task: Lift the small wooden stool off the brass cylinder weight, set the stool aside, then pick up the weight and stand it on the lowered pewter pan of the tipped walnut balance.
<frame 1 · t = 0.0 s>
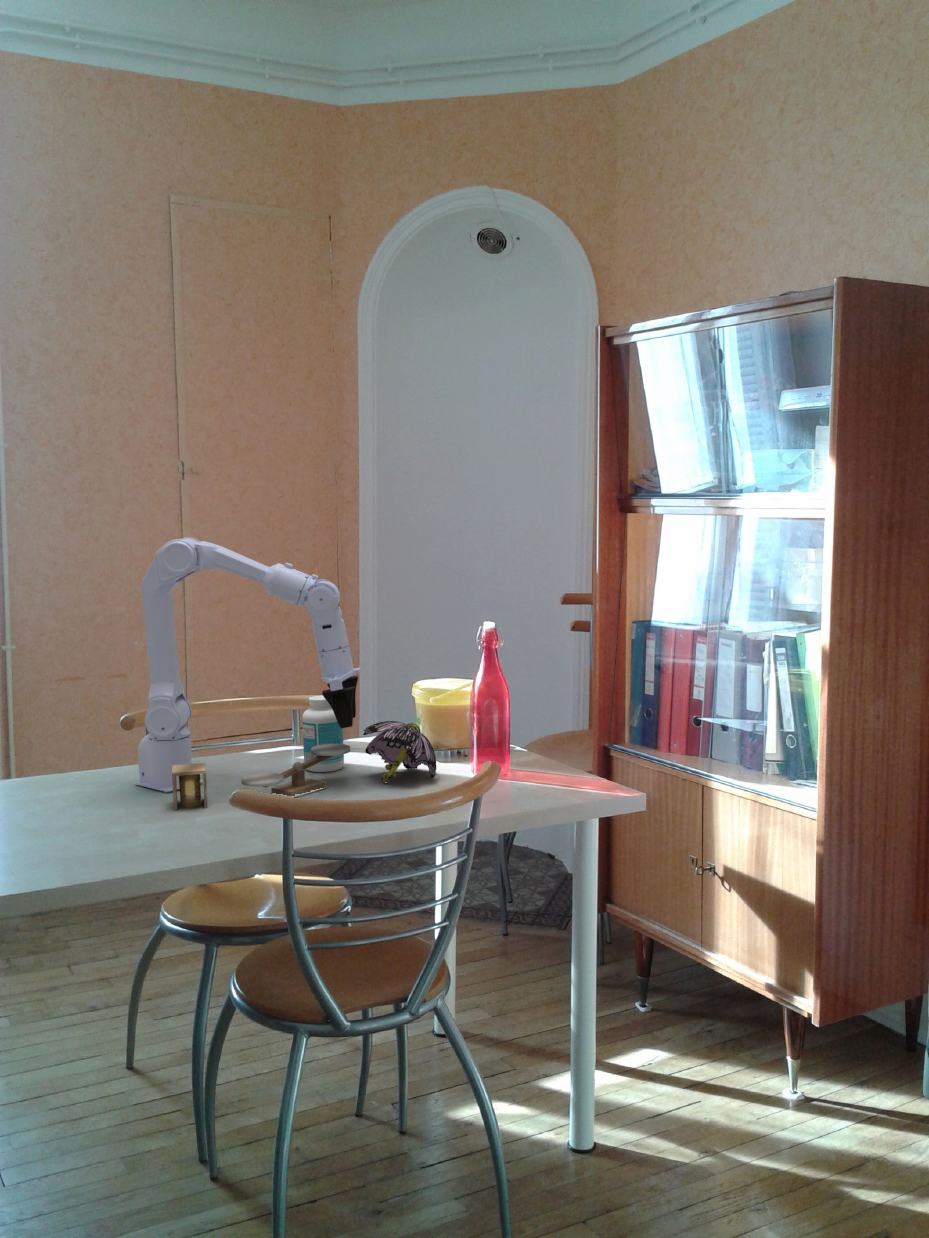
hand: (348, 722, 198), 11 cm above the table, tool pointing down, fingers open, 7 cm apart
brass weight: (190, 804, 186), on the table
small wooden stool: (190, 804, 186), on the table
pill bottle: (324, 769, 209), on the table
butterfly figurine: (402, 779, 201), on the table
balance: (298, 791, 193), on the table
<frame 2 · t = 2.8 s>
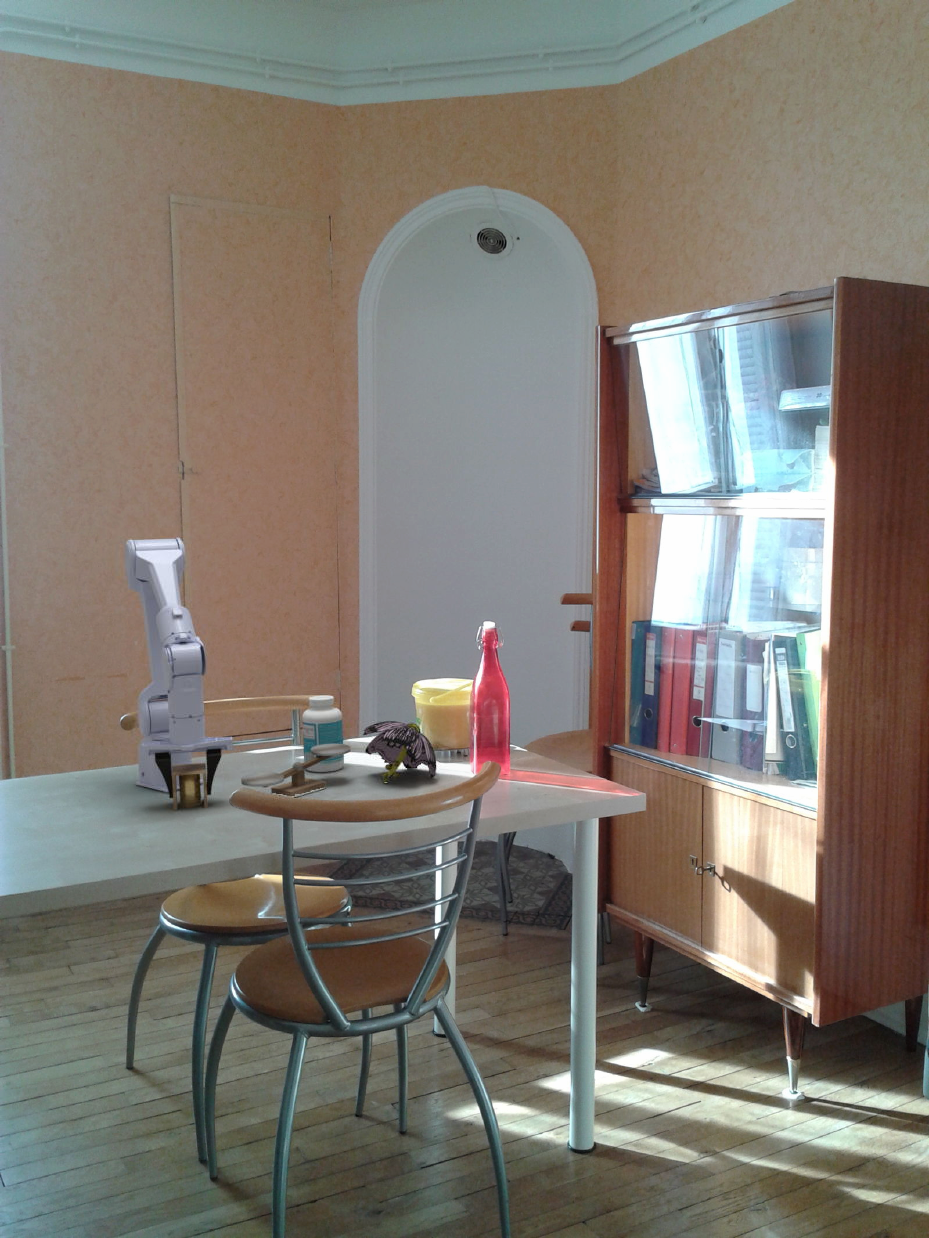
hand: (190, 795, 186), 2 cm above the table, tool pointing down, fingers closed on small wooden stool, 5 cm apart
small wooden stool: (190, 804, 186), on the table, touching gripper
everything else where it was.
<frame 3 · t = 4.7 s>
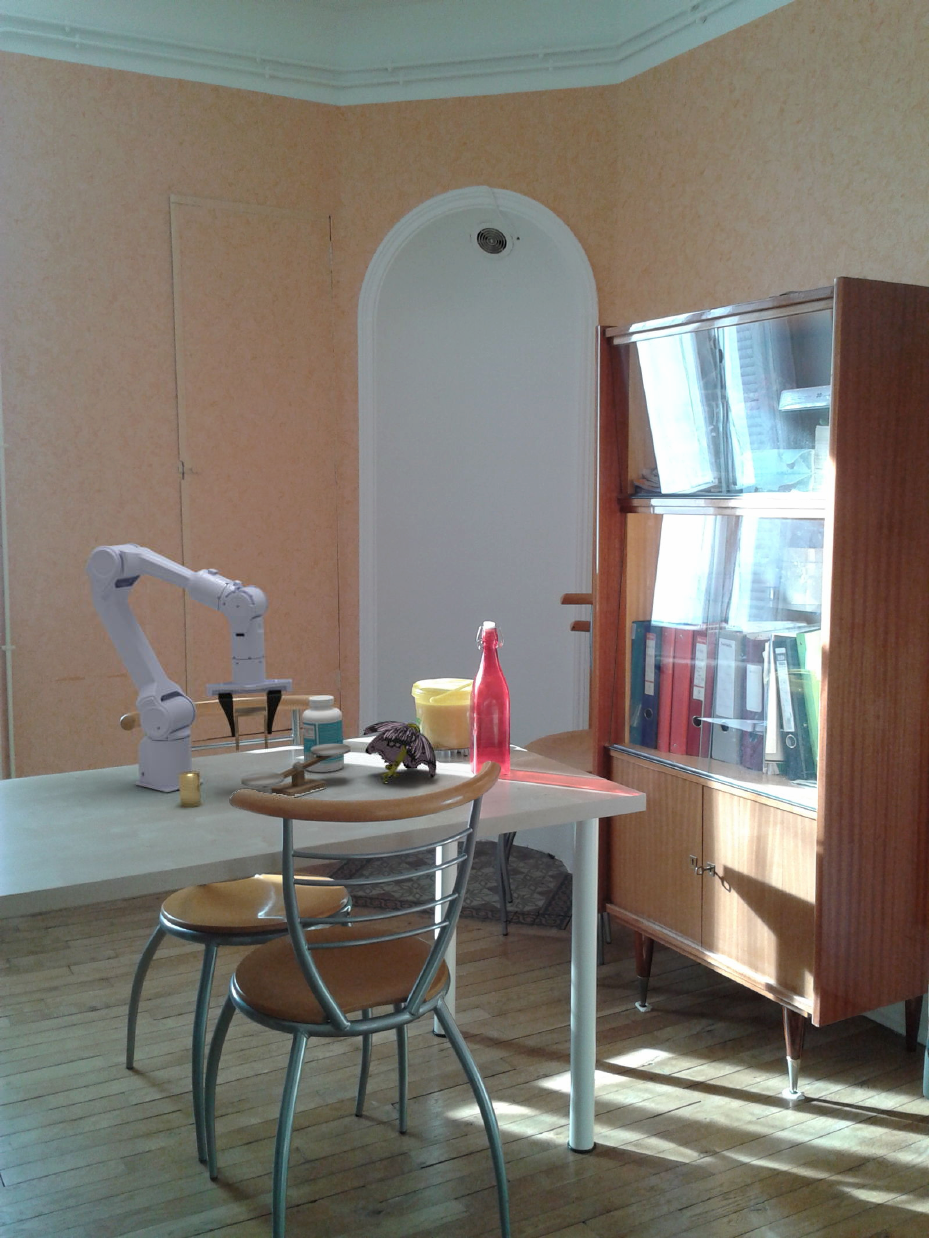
hand: (251, 734, 194), 10 cm above the table, tool pointing down, fingers closed on small wooden stool, 5 cm apart
small wooden stool: (252, 745, 194), point 8 cm above the table, touching gripper
everything else where it was.
when the fingers open (3 cm above the table, at t = 6.7 s): small wooden stool stays where it is, on the table.
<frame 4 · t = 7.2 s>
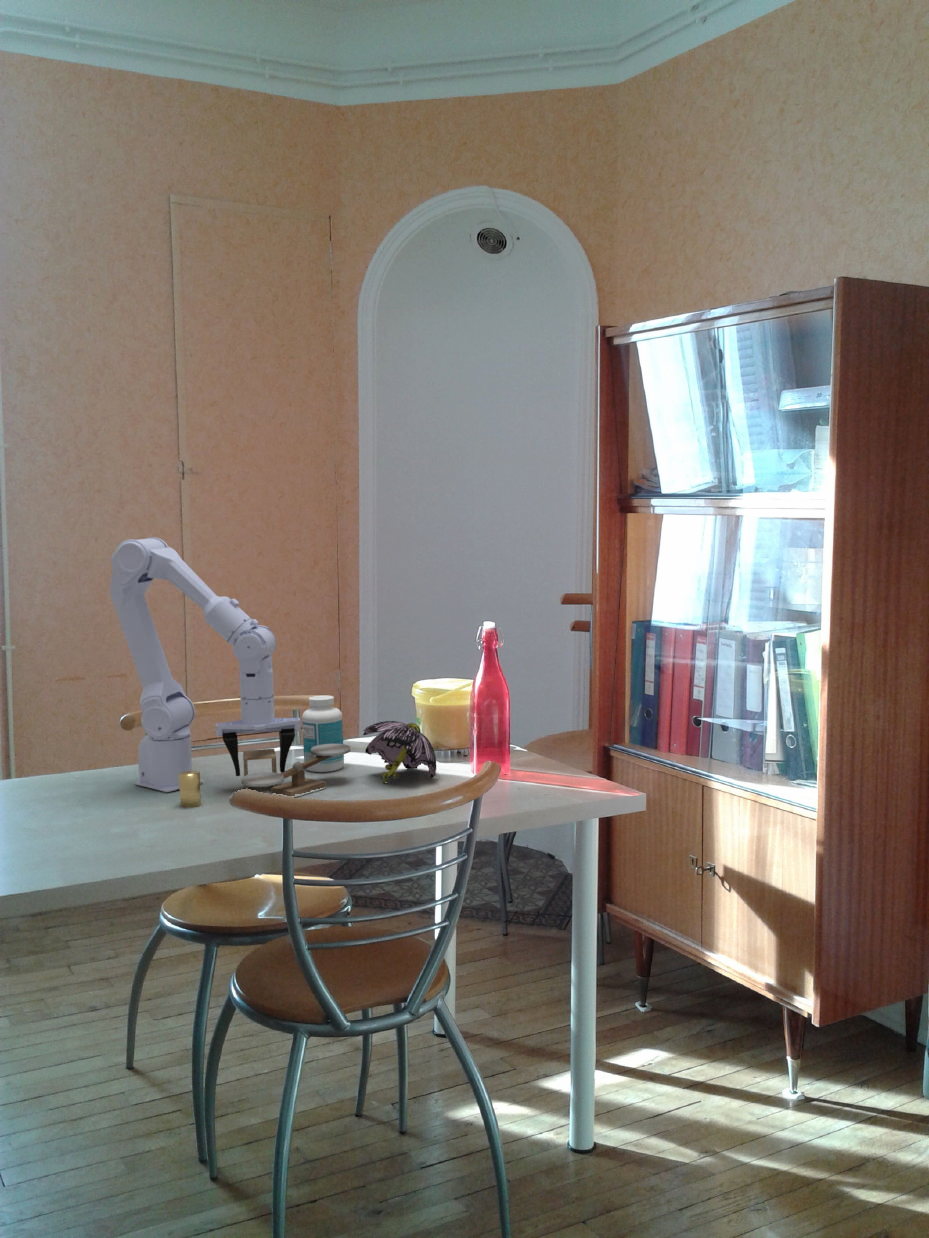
hand: (260, 772, 196), 3 cm above the table, tool pointing down, fingers open, 7 cm apart
small wooden stool: (260, 788, 196), on the table
everything else where it was.
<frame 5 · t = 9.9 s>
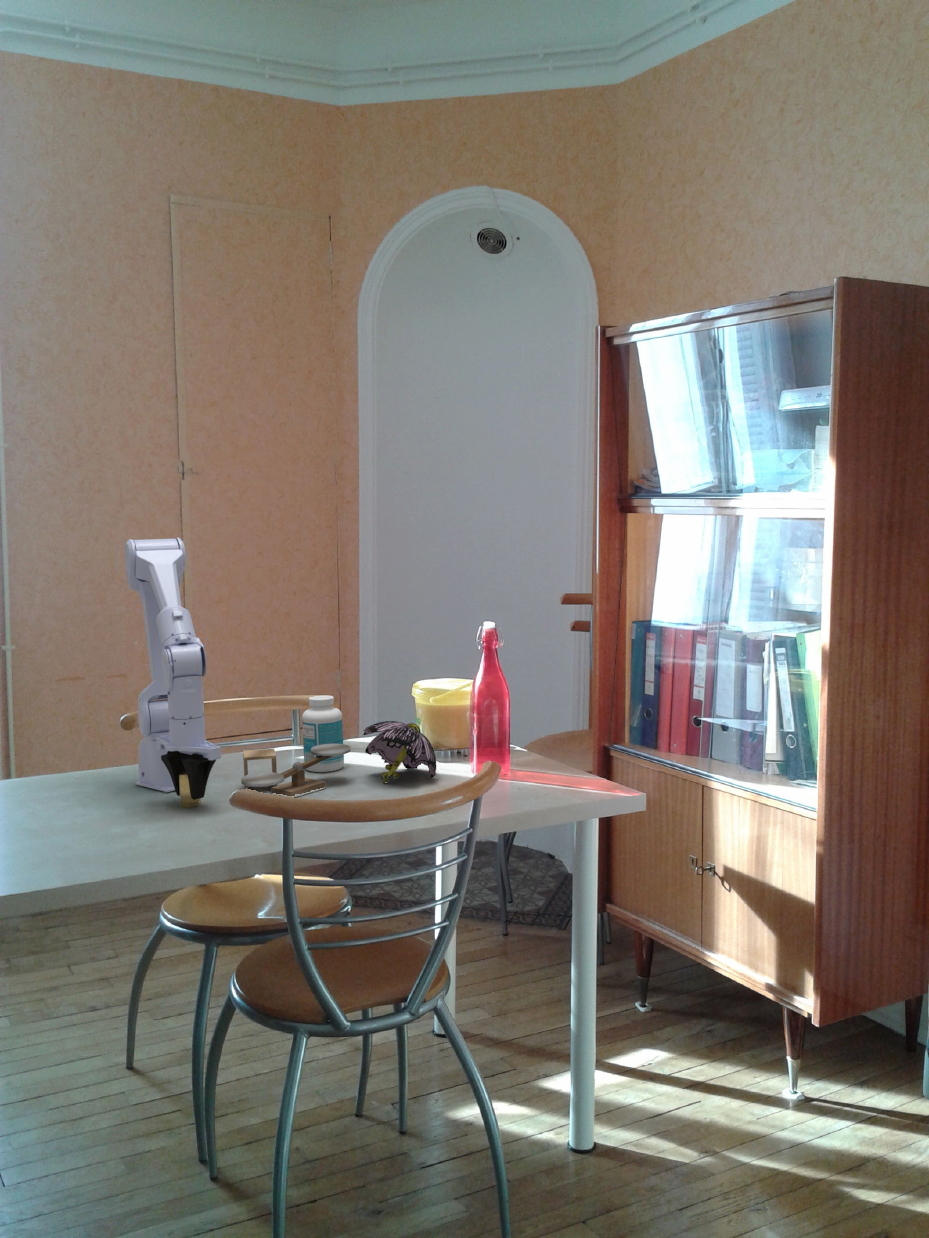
hand: (190, 796, 186), 1 cm above the table, tool pointing down, fingers closed on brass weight, 3 cm apart
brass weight: (190, 804, 186), on the table, touching gripper
everything else where it was.
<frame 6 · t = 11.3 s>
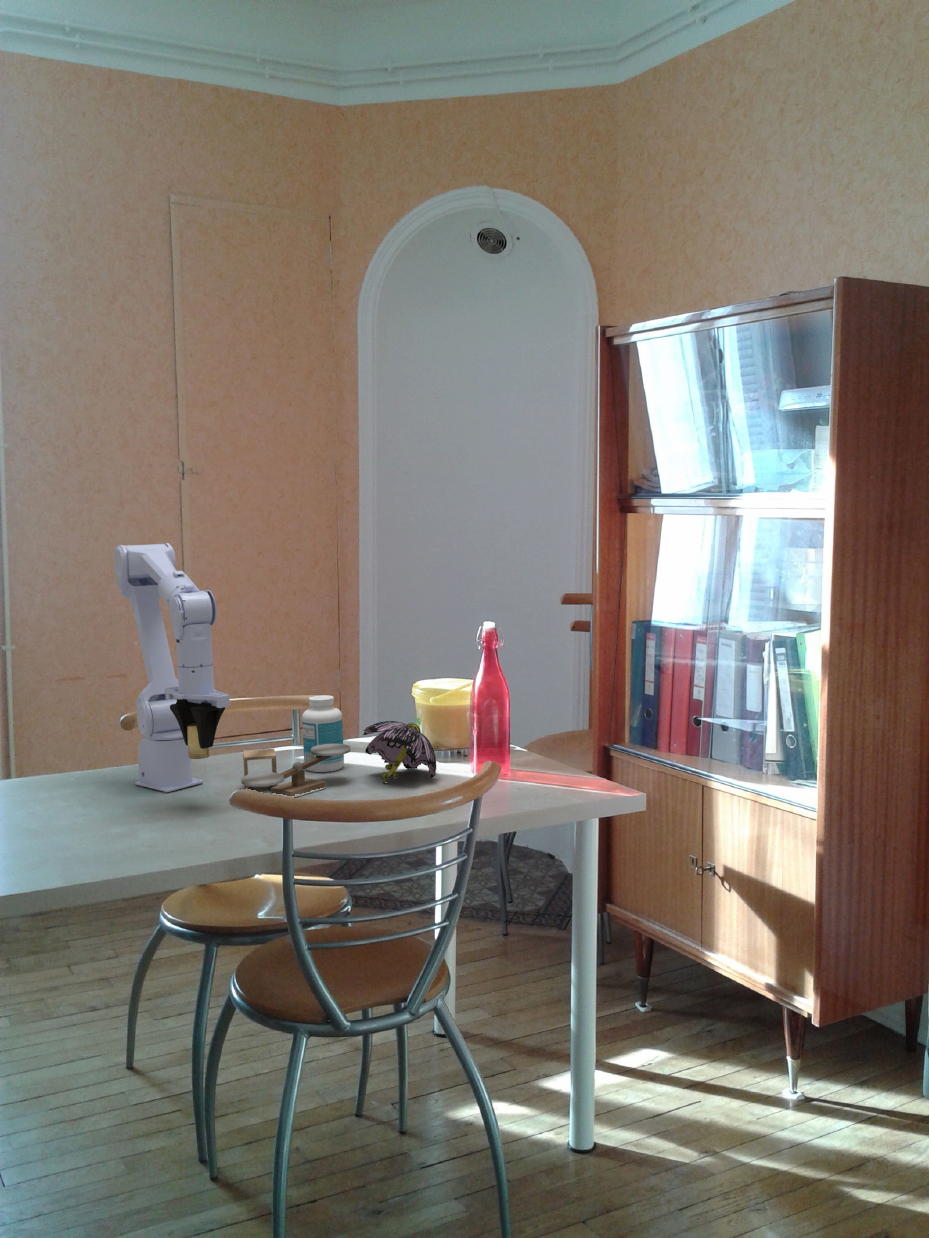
hand: (199, 745, 185), 10 cm above the table, tool pointing down, fingers closed on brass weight, 3 cm apart
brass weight: (199, 756, 185), point 8 cm above the table, touching gripper
everything else where it was.
when the fingers open (7 cm above the table, at t = 12.7 s): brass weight stays where it is, resting on balance.
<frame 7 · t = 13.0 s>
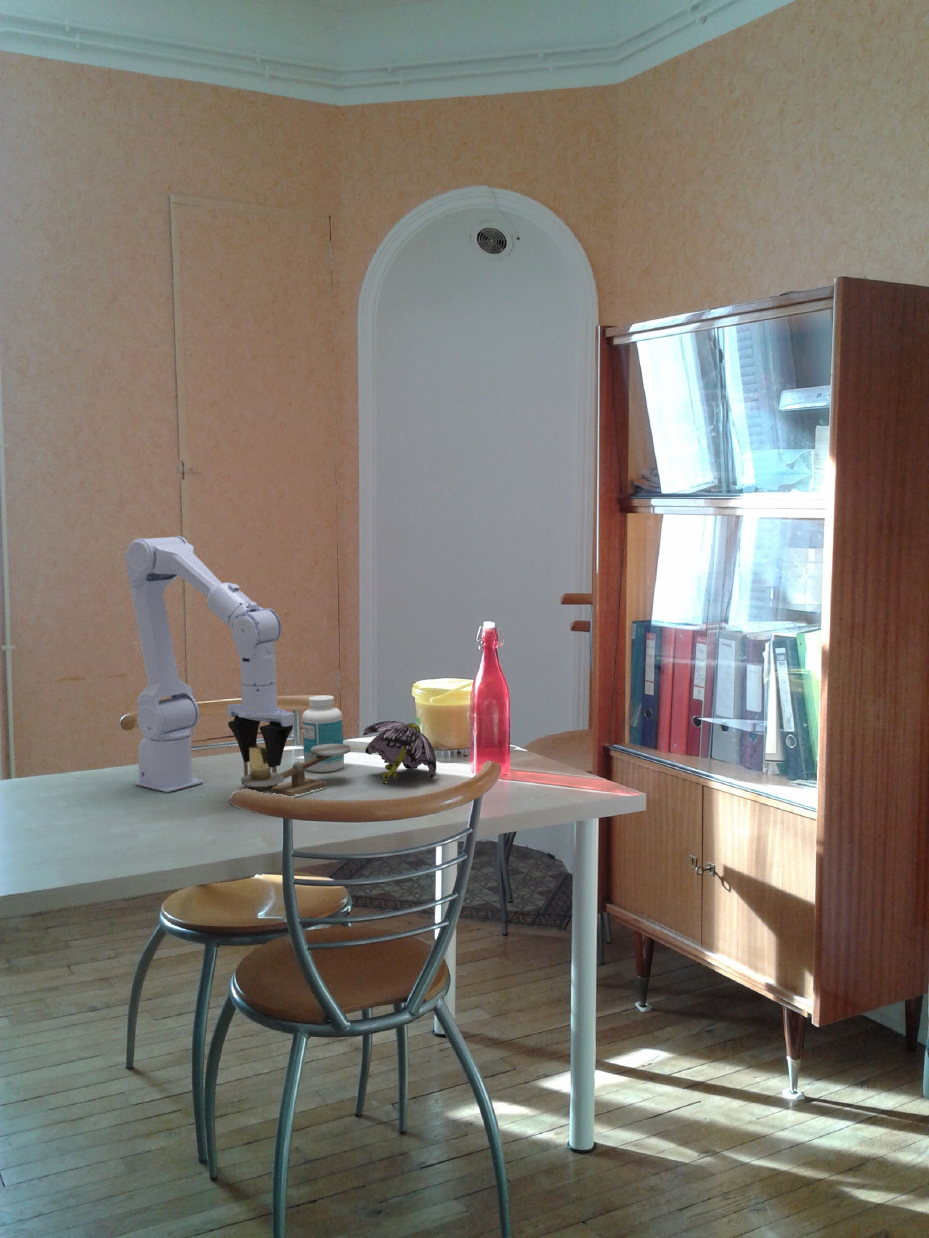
hand: (261, 763, 186), 7 cm above the table, tool pointing down, fingers open, 6 cm apart
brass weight: (260, 778, 186), point 4 cm above the table, touching balance
everything else where it was.
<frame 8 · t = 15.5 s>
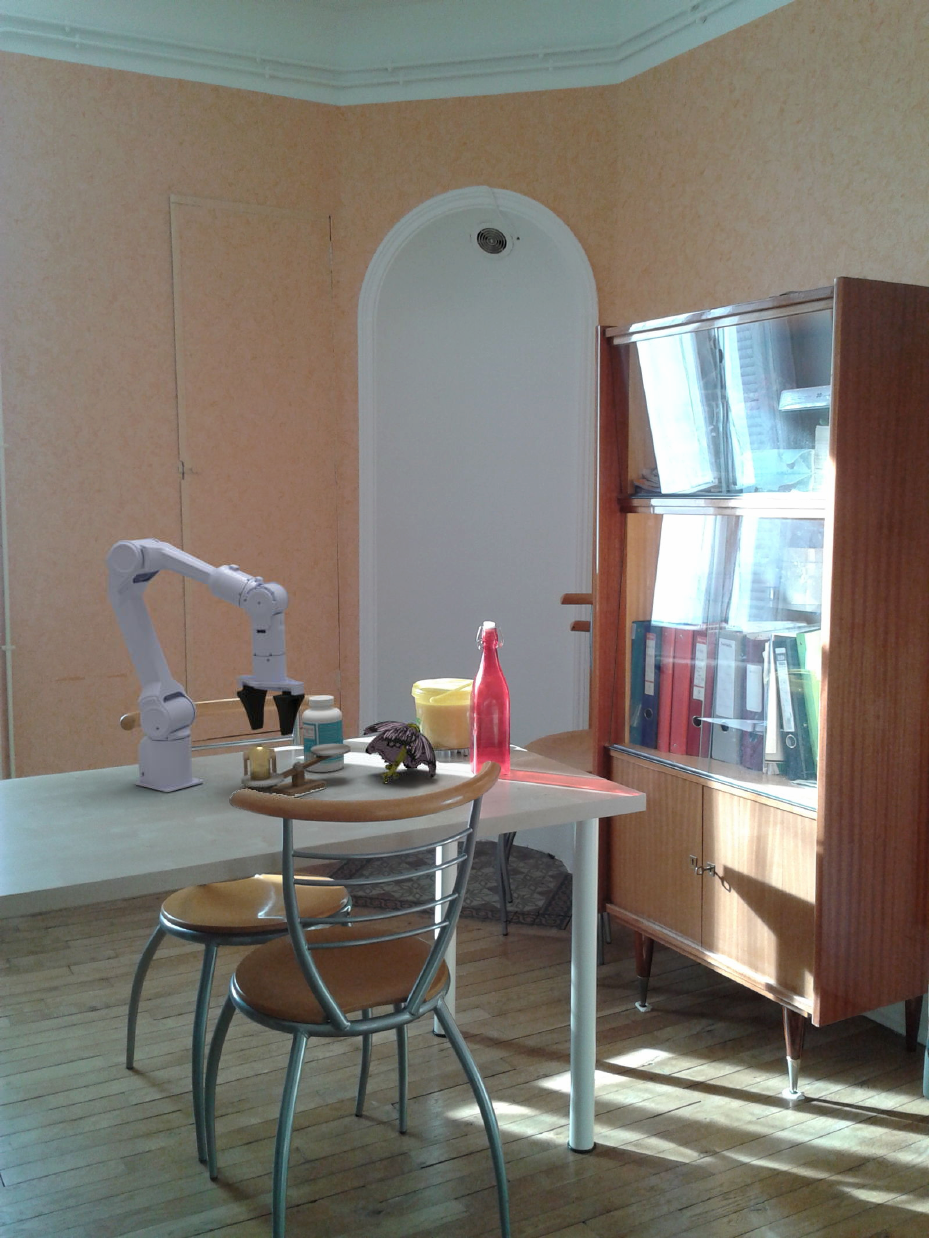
hand: (272, 731, 193), 10 cm above the table, tool pointing down, fingers open, 7 cm apart
nothing on the table moved.
at the end: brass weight 0.4 cm from the target spot on the balance, point 4.2 cm above the balance's base; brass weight tilted 0°; small wooden stool moved 13.9 cm from its start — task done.
